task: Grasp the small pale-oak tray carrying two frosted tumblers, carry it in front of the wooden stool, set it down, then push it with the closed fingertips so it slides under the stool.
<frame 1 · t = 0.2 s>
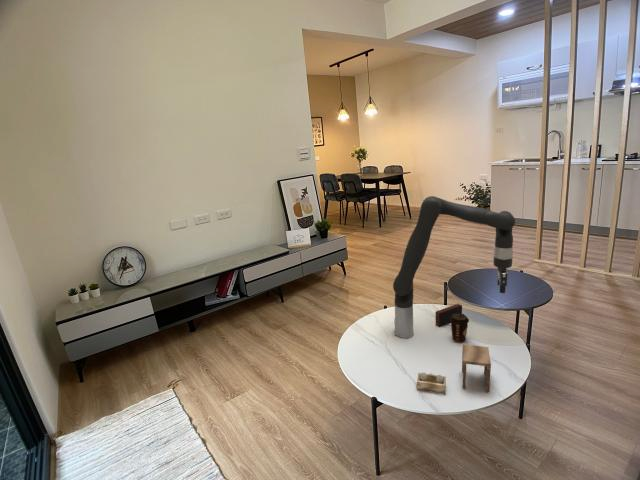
hand: (501, 288, 164), 29 cm above the table, fingers open, 8 cm apart
tray: (431, 387, 147), on the table
coffee cup: (459, 339, 178), on the table
wooden stool: (475, 381, 148), on the table
radio: (447, 323, 195), on the table
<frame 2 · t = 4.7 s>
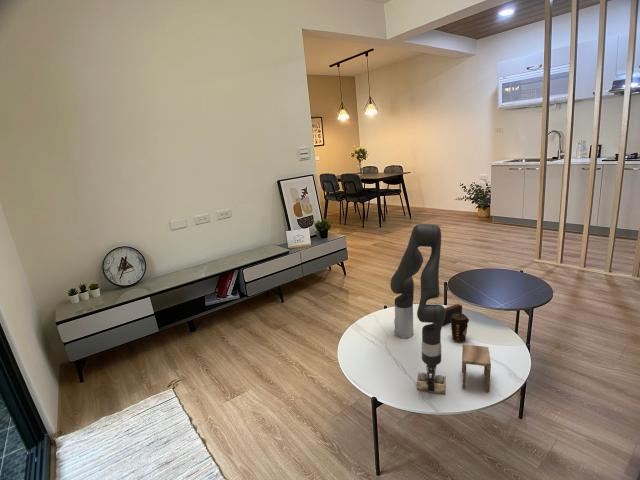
hand: (431, 385, 147), 1 cm above the table, fingers closed on tray, 6 cm apart
tray: (431, 387, 147), on the table, touching gripper
everything else where it was.
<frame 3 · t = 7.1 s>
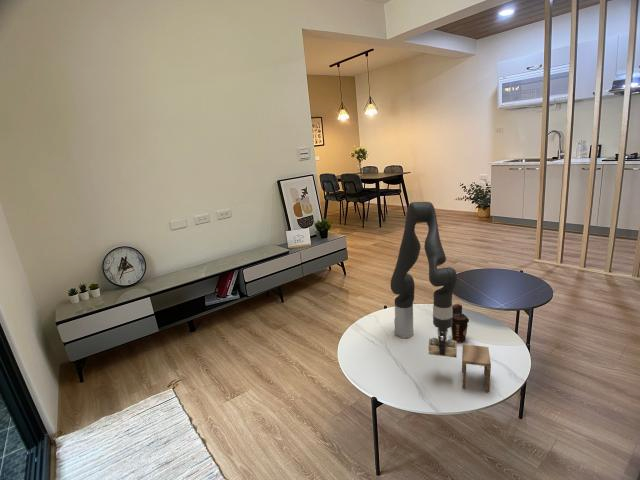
hand: (442, 349, 149), 13 cm above the table, fingers closed on tray, 6 cm apart
tray: (442, 351, 150), point 12 cm above the table, touching gripper
everything else where it was.
when the fingers open (2 cm above the table, at t = 9.5 s): tray stays where it is, on the table.
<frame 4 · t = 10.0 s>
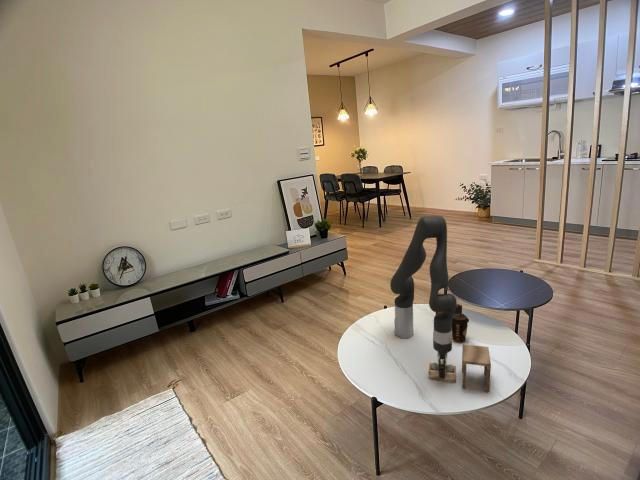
hand: (442, 371, 152), 2 cm above the table, fingers open, 8 cm apart
tray: (442, 376, 153), on the table
everything else where it was.
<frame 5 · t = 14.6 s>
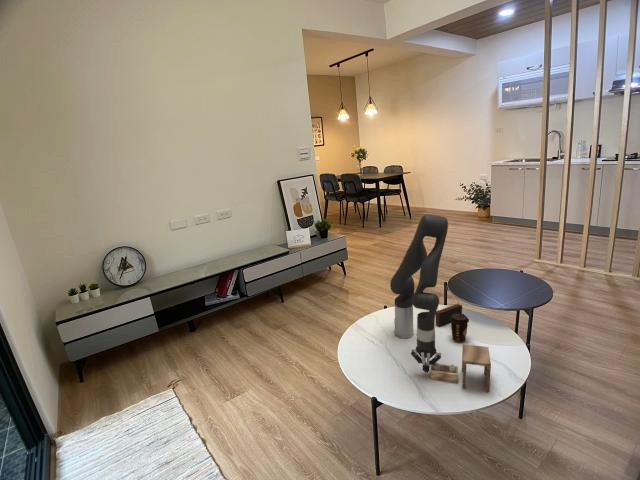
hand: (426, 371, 155), 2 cm above the table, fingers closed
tray: (444, 376, 153), on the table, touching gripper
everything else where it was.
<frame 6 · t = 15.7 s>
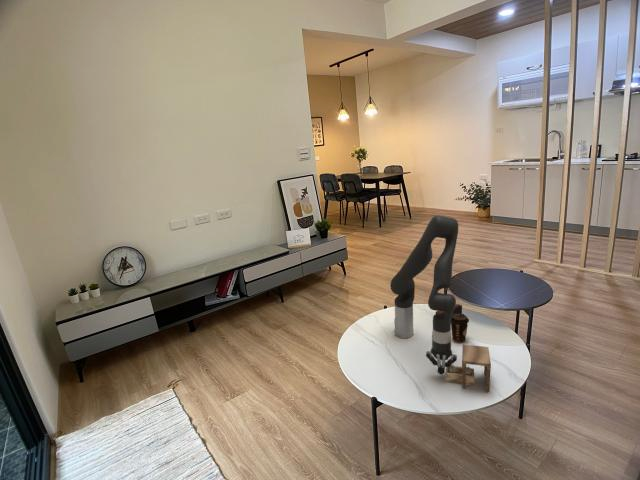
hand: (441, 373, 152), 2 cm above the table, fingers closed
tray: (459, 379, 150), on the table, touching gripper
everything else where it was.
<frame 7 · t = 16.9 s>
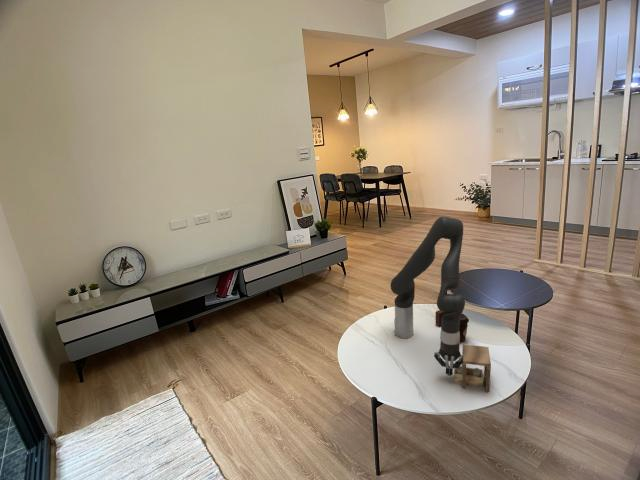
hand: (449, 374, 151), 2 cm above the table, fingers closed
tray: (468, 380, 149), on the table, touching gripper
everything else where it was.
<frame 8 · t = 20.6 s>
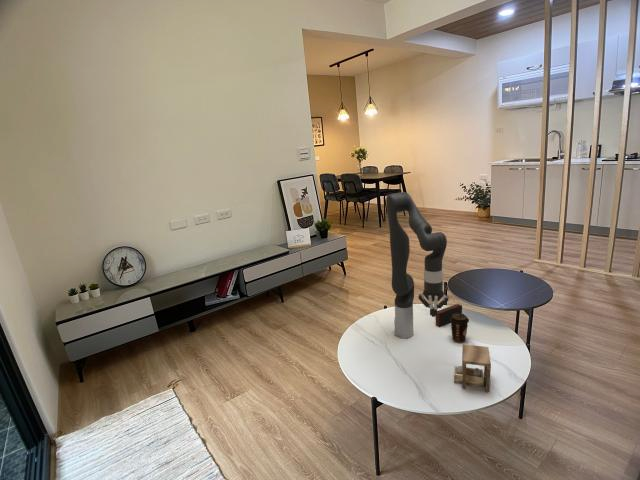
hand: (433, 315, 154), 25 cm above the table, fingers closed
tray: (468, 380, 149), on the table
everything else where it was.
at the end: tray 0.1 cm from the target spot, on the table; tray tilted 0° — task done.
